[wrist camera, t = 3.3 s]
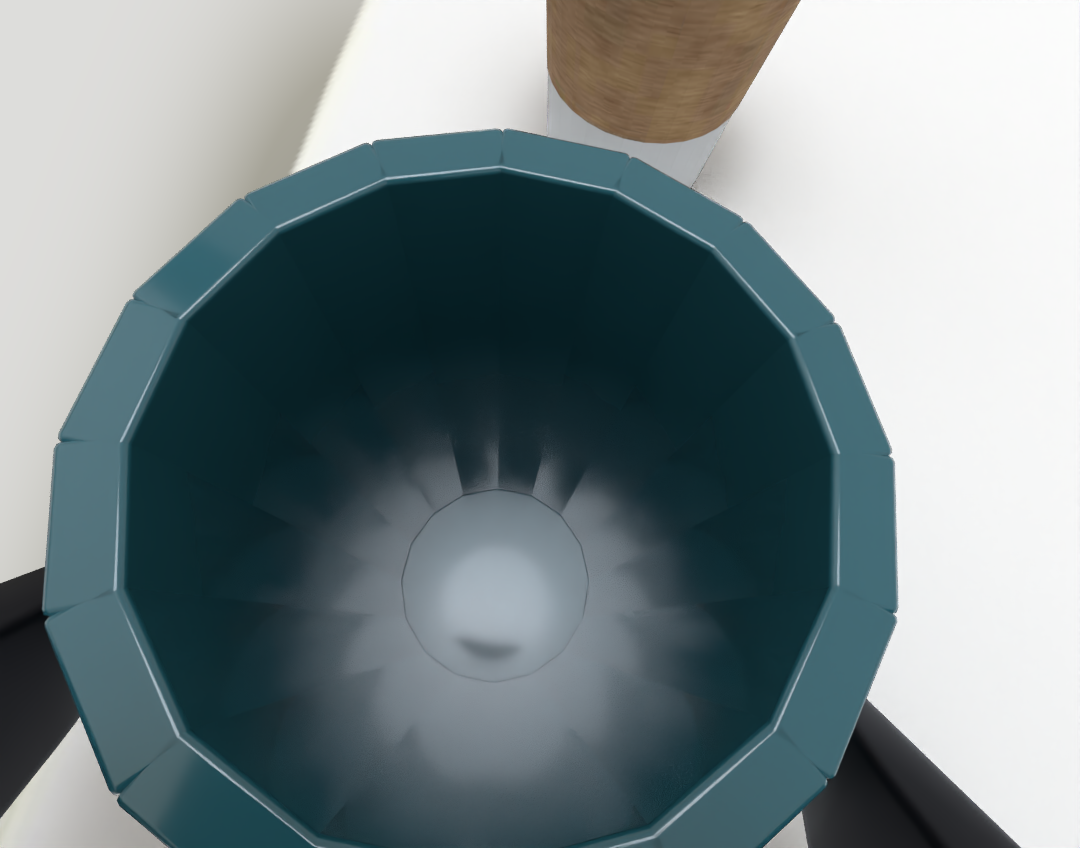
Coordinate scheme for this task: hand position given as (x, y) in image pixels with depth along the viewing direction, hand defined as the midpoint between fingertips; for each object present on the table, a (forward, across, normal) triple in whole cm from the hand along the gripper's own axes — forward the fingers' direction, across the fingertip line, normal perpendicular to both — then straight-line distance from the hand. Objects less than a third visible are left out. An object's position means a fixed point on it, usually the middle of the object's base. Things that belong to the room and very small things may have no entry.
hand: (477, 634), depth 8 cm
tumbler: (+7, 0, +5) cm, 9 cm away
